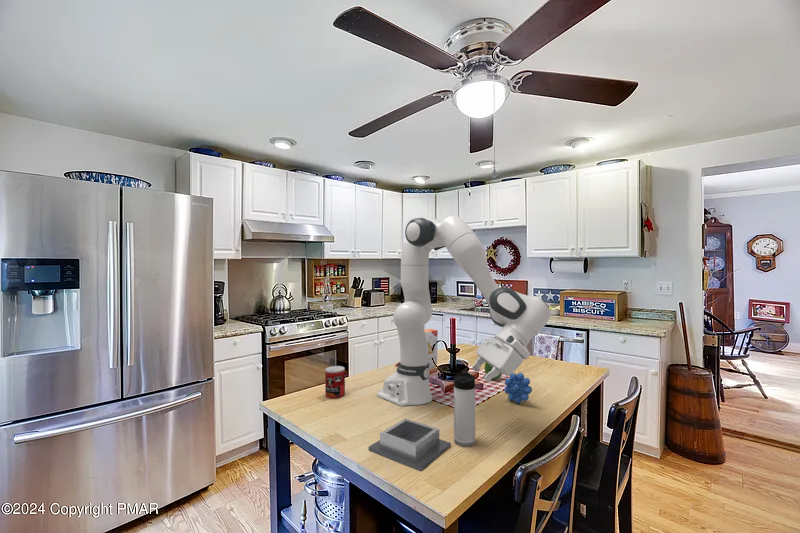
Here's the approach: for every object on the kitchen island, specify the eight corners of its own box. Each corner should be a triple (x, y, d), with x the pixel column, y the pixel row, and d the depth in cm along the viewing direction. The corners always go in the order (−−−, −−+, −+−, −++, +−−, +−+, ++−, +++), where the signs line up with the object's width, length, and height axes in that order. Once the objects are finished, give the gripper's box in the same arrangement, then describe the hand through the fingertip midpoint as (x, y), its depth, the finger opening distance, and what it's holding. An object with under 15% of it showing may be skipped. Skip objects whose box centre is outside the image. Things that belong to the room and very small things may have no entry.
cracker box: (416, 377, 173) (416, 333, 172) (408, 374, 177) (408, 331, 177) (438, 372, 181) (438, 329, 181) (429, 369, 186) (429, 328, 186)
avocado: (490, 375, 175) (490, 350, 175) (505, 379, 169) (505, 353, 169) (480, 379, 170) (480, 353, 170) (495, 383, 164) (495, 356, 164)
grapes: (537, 404, 139) (537, 373, 139) (528, 409, 135) (528, 377, 135) (510, 396, 148) (510, 366, 148) (500, 400, 144) (500, 369, 144)
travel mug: (477, 438, 113) (477, 373, 113) (472, 448, 107) (472, 379, 107) (457, 434, 115) (457, 371, 115) (451, 444, 109) (451, 377, 109)
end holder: (368, 450, 106) (368, 433, 106) (401, 429, 119) (401, 414, 119) (420, 471, 95) (420, 451, 95) (450, 446, 108) (450, 429, 108)
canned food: (321, 397, 148) (321, 370, 148) (332, 391, 155) (332, 365, 155) (338, 400, 145) (337, 372, 145) (348, 393, 152) (348, 366, 152)
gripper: (489, 328, 123) (461, 359, 122) (518, 341, 103) (484, 378, 101) (502, 341, 124) (474, 371, 122) (533, 357, 103) (500, 393, 102)
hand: (479, 375), depth 112 cm, fingers open, 8 cm apart
